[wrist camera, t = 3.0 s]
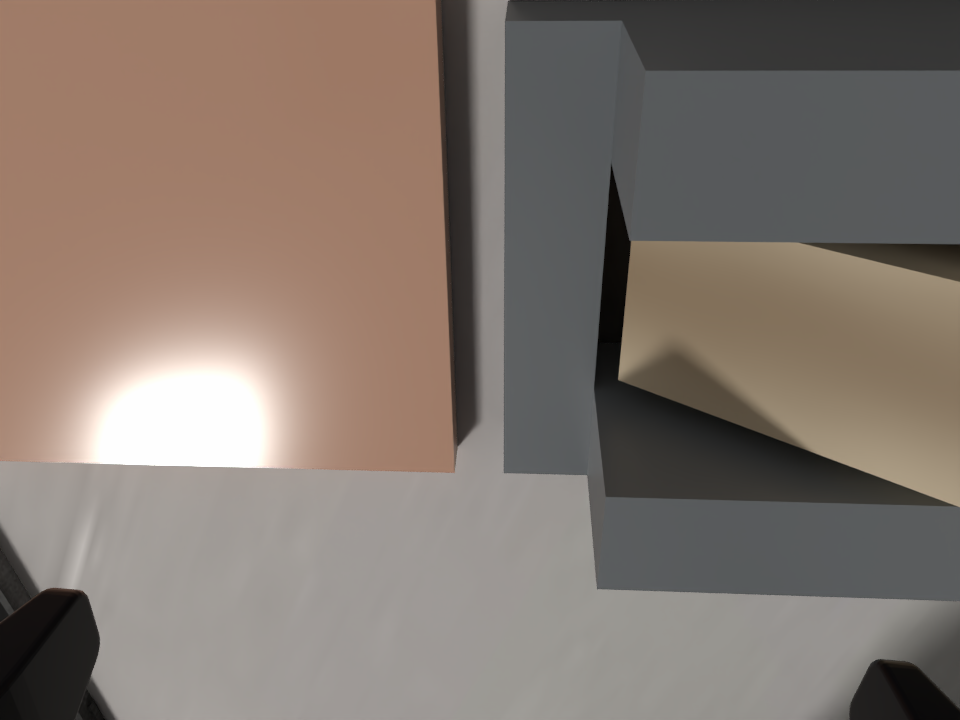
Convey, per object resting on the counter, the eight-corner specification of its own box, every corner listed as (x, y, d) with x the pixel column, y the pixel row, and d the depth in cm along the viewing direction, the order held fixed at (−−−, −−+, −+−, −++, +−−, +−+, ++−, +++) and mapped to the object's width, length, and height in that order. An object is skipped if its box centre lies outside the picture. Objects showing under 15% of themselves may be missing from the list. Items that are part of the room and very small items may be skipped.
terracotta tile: (457, 448, 22) (454, 472, 21) (-81, 435, 23) (-104, 458, 22) (439, -50, 15) (433, -44, 14) (-316, -44, 16) (-362, -38, 15)
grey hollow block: (506, 422, 21) (498, 585, 17) (507, 1, 16) (497, 70, 11) (1194, 438, 20) (1388, 615, 16) (1455, -5, 15) (1872, 69, 10)
